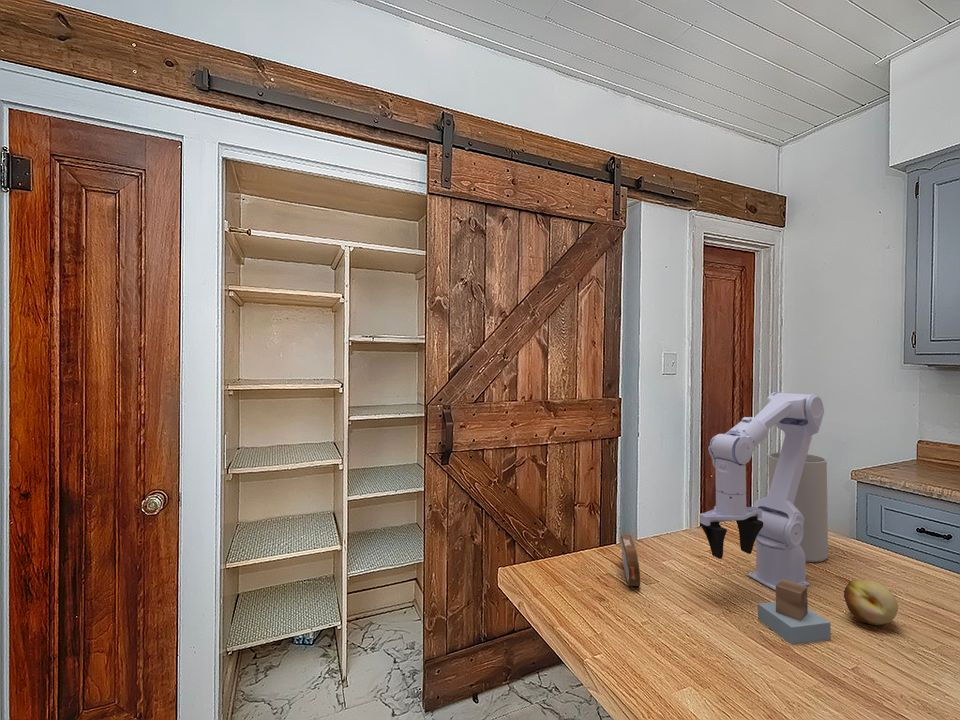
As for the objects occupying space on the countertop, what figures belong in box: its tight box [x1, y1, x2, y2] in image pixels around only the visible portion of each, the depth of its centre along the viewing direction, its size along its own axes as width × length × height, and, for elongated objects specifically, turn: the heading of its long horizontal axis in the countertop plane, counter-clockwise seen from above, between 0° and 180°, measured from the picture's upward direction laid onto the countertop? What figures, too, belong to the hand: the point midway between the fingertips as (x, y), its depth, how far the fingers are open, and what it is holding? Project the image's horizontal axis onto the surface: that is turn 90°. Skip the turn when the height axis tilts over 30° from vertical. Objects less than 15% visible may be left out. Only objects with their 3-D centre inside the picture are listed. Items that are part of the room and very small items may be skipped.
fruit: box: [843, 578, 899, 626], centre depth 87 cm, size 8×8×8 cm
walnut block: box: [775, 579, 809, 621], centre depth 86 cm, size 4×4×5 cm
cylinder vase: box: [767, 451, 829, 563], centre depth 119 cm, size 12×12×25 cm
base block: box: [757, 601, 832, 646], centre depth 86 cm, size 8×8×4 cm
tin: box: [620, 534, 641, 587], centre depth 107 cm, size 15×3×8 cm, turn 168°
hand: (731, 554), depth 97 cm, fingers open, 7 cm apart
